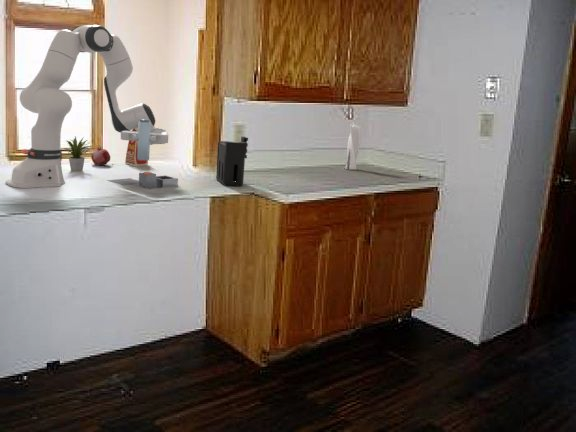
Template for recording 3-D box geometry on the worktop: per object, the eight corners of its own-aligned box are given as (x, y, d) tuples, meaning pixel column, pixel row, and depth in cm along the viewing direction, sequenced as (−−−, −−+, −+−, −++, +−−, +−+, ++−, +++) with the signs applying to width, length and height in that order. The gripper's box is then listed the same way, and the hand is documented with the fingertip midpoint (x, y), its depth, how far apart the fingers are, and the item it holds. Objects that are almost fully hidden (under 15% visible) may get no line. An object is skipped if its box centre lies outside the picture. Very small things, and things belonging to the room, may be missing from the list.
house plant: (82, 175, 269) (82, 139, 265) (54, 171, 271) (54, 136, 267) (97, 170, 282) (97, 136, 279) (70, 167, 284) (70, 133, 281)
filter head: (148, 191, 246) (149, 175, 245) (134, 187, 252) (134, 171, 251) (178, 187, 258) (179, 173, 257) (164, 183, 264) (164, 169, 263)
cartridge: (141, 160, 251) (143, 120, 247) (134, 158, 254) (136, 118, 251) (151, 159, 255) (153, 120, 251) (144, 158, 258) (145, 119, 254)
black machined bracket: (224, 186, 270) (227, 138, 265) (213, 178, 288) (216, 133, 283) (249, 187, 274) (252, 139, 269) (236, 178, 293) (239, 134, 288)
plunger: (146, 178, 248) (146, 173, 248) (142, 176, 250) (142, 172, 250) (152, 177, 251) (153, 172, 250) (148, 176, 253) (148, 171, 252)
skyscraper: (341, 167, 360) (346, 121, 354) (353, 168, 363) (358, 122, 356) (346, 170, 352) (352, 122, 346) (359, 170, 355) (364, 123, 348)
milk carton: (135, 166, 304) (136, 127, 299) (124, 163, 309) (125, 124, 305) (149, 164, 311) (150, 126, 307) (138, 162, 317) (139, 124, 312)
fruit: (109, 163, 304) (109, 144, 302) (111, 166, 296) (111, 147, 294) (90, 163, 301) (90, 143, 299) (91, 166, 292) (91, 146, 290)
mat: (122, 187, 249) (122, 185, 249) (106, 182, 256) (106, 180, 256) (146, 185, 258) (146, 182, 258) (129, 180, 266) (129, 178, 265)
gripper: (122, 126, 262) (118, 129, 249) (169, 130, 266) (168, 132, 253) (121, 140, 264) (118, 144, 251) (168, 143, 268) (167, 147, 254)
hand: (143, 138), depth 252 cm, fingers closed on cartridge, 5 cm apart
